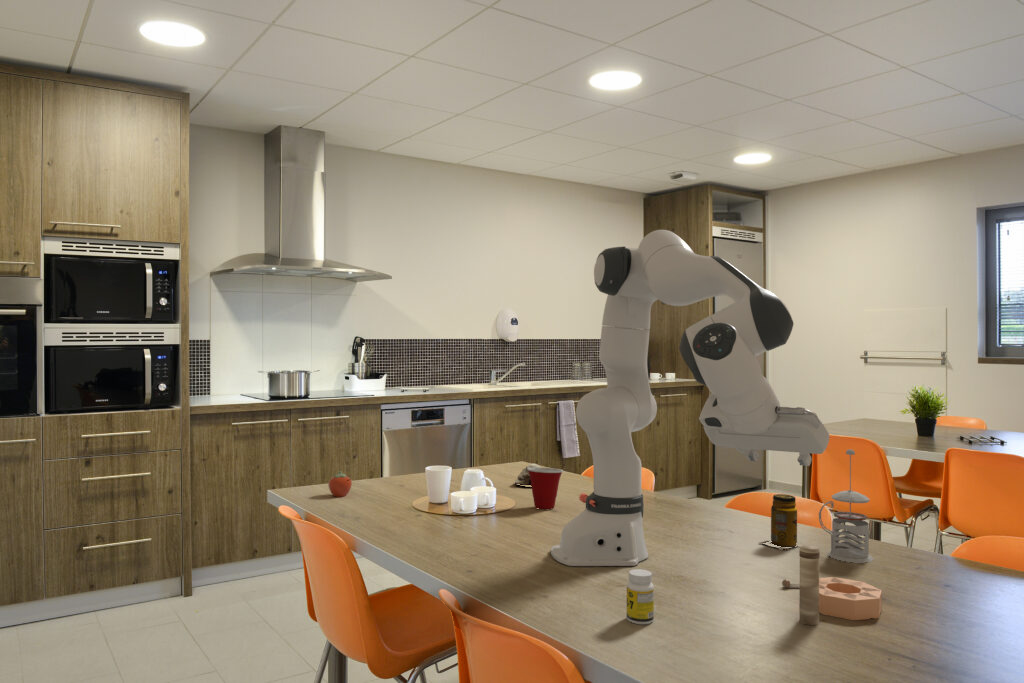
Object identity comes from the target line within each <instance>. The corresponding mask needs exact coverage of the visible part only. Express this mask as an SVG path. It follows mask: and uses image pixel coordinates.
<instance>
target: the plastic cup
mask: <svg viewBox="0 0 1024 683" xmlns="http://www.w3.org/2000/svg"><path fill="white" fill-rule="evenodd" d="M527 469H528V471H529V475H530V479H531V486H532V488H531V491H532V498H533V504H534V505H533V506H534V508H535V507H536V508H539V509H551V508H554V509H555V506H556V500H557V496H558V492H559V491H558V489H559V485H560V484H559V483H560V481H561V477H562V473H563V472H564V470H563V469H561V468H554V467H542V466H540V467H533V468H527ZM536 508H535V509H536ZM539 509H538V510H539ZM551 510H552V509H551Z"/></svg>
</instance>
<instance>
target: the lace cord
mask: <svg viewBox="0 0 1024 683" xmlns="http://www.w3.org/2000/svg"><path fill="white" fill-rule="evenodd" d="M781 585H782V586H783V587H784V588H792V589H793V588H795V589H797V588H798V589H800V583H791V581H790V580H789V579H786V578H785V579H783V580H782V582H781Z"/></svg>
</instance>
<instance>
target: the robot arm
mask: <svg viewBox="0 0 1024 683" xmlns="http://www.w3.org/2000/svg"><path fill="white" fill-rule="evenodd" d="M593 278H594V284H595V287H596V288H597V289H598V291H599V292H600V293H603V294H605V295H607V297H606V300H605V304H604V305H605V306H604V309H603V315H602V323H601V333H600V343H599V354H598V356H599V358H598V359H599V361H600V363H601V365H602V366H603V369H604V372H605V377H606V384H607V385H606V387H603V388H602V387H601V388H597V389H594V390H592V391H590V392H588V393H586V394H584V395H583V396H582V397H581V398H580V399H579V401H578V402H577V405H576V410H575V415H576V420H577V423H578V425H579V427H580V428H581V429H582V430H583V431H584V433H585V434H586V436H587V439H588V443H589V447H590V451H591V454H592V463H593V492H592V493H590V494H589V495H588V494H586V492H585V493H584V492H582V493H580V495H579V497H578V500H580V502H582V503H583V504H585V509H583V511H581V512H580V513H579V514H578V515H576V516H575V517H574V518H573V519H571V520H570V521H569V522H567V524H565V525H564V526H563V528H562V530H561V534H560V535H561V536H560V539H559V540H560V541H559V544H556V545H552V547H551V548H550V556H551V557H552V559H554V560H556V561H557V562H558V563H561V564H563V565H565V566H569V567H631V566H632V567H634V566H636V565H638V564H639V562H641V561H644V560H646V559H647V558H649V552H648V550H647V549H648V548H647V546H646V545H647V544H646V541H645V540H646V539H645V533H644V527H643V526H644V525H643V518H644V509H645V508H644V506H645V505H644V503H645V502H644V494H643V493H642V472H643V471H642V469H643V468H642V460H641V458H640V456H639V455H638V454H637V453H636V450H635V447H634V443H633V438H632V433H634V432H638V431H641V430H642V429H645V428H646V427H647V426H649V425H650V424H651V423H652V422H653V421H654V420H655V419H656V416H657V413H658V412H657V411H658V405H657V401H656V399H655V396H654V395H653V394H652V391H651V390H652V389H651V386H650V379H649V372H648V369H649V368H648V356H649V355H648V353H649V342H650V330H651V313H652V312H651V310H652V306H653V304H654V303H655V302H656V301H660V302H661V304H662V305H665V306H666V305H669V306H673V307H685V306H690V305H693V304H695V303H698V302H701V301H704V300H707V299H711V298H715V297H719V296H720V297H721V296H727V297H730V298H731V299H732V300H733V301H734V303H733V302H732V304H730V305H728V306H726V307H723V308H722V309H721V310H719V311H716V312H715V313H713V314H710V315H709V316H706V317H704V318H703V319H701V320H698V321H697V322H696V323H694V324H692V325H690V326H688V328H686V329H684V331H683V333H682V335H681V338H680V342H679V347H678V348H679V352H680V355H681V357H682V359H683V361H684V363H685V364H686V365H687V366H688V369H690V372H691V373H692V375H693V378H694V380H695V381H696V382H698V383H699V384H701V385H704V386H705V387H707V388H708V390H709V391H710V394H709V395H708V398H707V399H706V401H705V403H704V406H702V409H701V411H700V415H699V418H698V420H699V421H700V423H701V424H702V425H703V429H704V433H705V434H706V436H707V438H708V439H709V441H710V442H711V444H713V445H715V446H717V447H719V448H732V449H735V451H737V452H738V453H740V454H741V455H744V456H745V458H746V460H747V461H749V462H758V460H759V457H760V453H759V452H758V451H770V452H771V451H773V452H785V453H786V452H788V453H799V455H798V457H797V462H798V463H799V465H800V466H801V467H803V466H804V467H810V465H811V463H812V461H813V460H812V456H811V454H813V455H814V454H815V455H821V454H823V453H825V451H826V449H827V447H828V445H829V441H830V438H831V437H830V434H829V432H828V430H827V428H826V426H825V425H824V424H823V422H822V421H821V419H820V418H819V416H818V415H817V413H815V412H813V411H812V410H810V409H809V410H808V409H806V408H804V407H799V406H798V407H791V406H790V407H789V406H781V403H780V401H779V399H778V397H777V396H776V394H775V392H774V389H773V387H772V386H771V384H770V382H769V380H768V379H767V377H765V376H764V375H763V374H762V368H761V364H760V363H759V361H758V359H757V357H758V356H759V355H761V354H763V353H765V352H769V351H772V350H774V349H777V348H779V347H782V346H784V345H786V344H787V342H788V340H789V338H790V337H791V334H792V331H793V328H794V320H793V318H792V315H791V312H790V311H789V309H788V307H787V305H786V304H785V303H784V302H783V300H782V299H780V297H778V296H777V295H775V293H773V292H772V291H771V290H769V289H765V288H763V287H762V286H760V285H759V284H757V283H756V281H753V280H752V279H751V278H750V277H748V276H747V275H745V274H744V273H743V272H742V271H740V270H739V269H738V268H736V266H734V265H733V264H732V263H730V262H728V261H726V260H725V259H723V258H722V257H721V256H720V257H719V256H718V255H717V256H715V255H714V256H713V255H711V256H708V255H702V254H697V253H695V252H694V251H693V249H692V248H691V246H689V244H687V243H686V241H685V240H683V239H682V238H681V237H680V236H679V235H677V234H676V233H674V232H673V231H671V230H667V229H657V230H653V231H651V232H649V233H648V234H646V235H645V236H643V238H642V240H641V241H640V243H639V245H638V247H637V248H635V247H626V246H614V247H609V248H605V249H603V250H602V251H601V252H600V253H599V254H598V256H597V258H596V260H595V263H594V267H593Z"/></svg>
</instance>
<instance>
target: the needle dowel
mask: <svg viewBox="0 0 1024 683" xmlns="http://www.w3.org/2000/svg"><path fill="white" fill-rule="evenodd" d="M802 545H803V546H800V547H799V549H798V550H799V584H800V588H799V610H798V611H799V616H798V618H799V623H801V624H804V625H808V626H817V625H819V624H820V612H819V578H820V557H821V556H820V555H821V554H820V548H819V547H817V546H814V545H807V544H806V545H805V544H802Z"/></svg>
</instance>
